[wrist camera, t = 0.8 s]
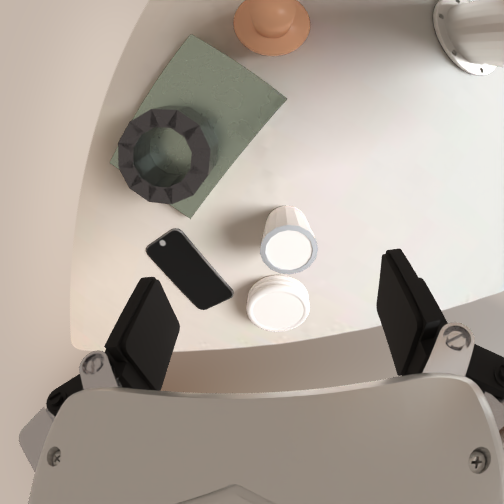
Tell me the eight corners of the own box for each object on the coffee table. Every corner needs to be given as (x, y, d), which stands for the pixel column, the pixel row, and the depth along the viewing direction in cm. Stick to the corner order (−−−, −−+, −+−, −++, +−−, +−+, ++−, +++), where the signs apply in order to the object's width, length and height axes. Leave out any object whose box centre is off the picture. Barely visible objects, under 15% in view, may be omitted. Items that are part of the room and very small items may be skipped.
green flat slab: (194, 36, 26) (178, 26, 21) (286, 98, 30) (290, 100, 25) (114, 159, 35) (90, 174, 30) (193, 214, 39) (180, 237, 34)
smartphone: (176, 226, 40) (236, 296, 46) (178, 223, 41) (237, 293, 47) (142, 250, 43) (201, 312, 49) (144, 247, 43) (201, 309, 49)
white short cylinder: (279, 326, 50) (279, 341, 47) (235, 299, 47) (233, 313, 44) (320, 295, 46) (323, 310, 43) (276, 262, 43) (276, 276, 40)
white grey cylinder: (251, 226, 40) (248, 254, 34) (283, 191, 37) (286, 213, 31) (288, 253, 42) (290, 283, 36) (321, 221, 39) (330, 248, 33)
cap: (265, -9, 22) (263, -40, 14) (319, 28, 25) (337, 7, 16) (223, 35, 26) (206, 16, 18) (277, 71, 28) (280, 63, 20)
